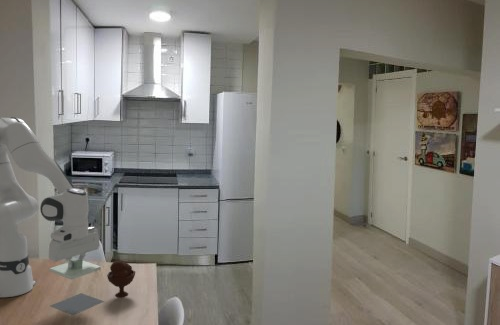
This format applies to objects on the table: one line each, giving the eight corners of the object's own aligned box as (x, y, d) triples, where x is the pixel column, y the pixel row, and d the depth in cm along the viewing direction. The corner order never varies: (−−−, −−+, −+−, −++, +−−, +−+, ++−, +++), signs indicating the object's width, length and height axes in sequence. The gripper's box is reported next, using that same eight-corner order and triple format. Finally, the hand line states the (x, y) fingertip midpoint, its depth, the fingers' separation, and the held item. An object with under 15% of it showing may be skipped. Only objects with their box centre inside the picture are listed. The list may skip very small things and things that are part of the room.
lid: (49, 271, 159) (49, 260, 158) (78, 261, 170) (78, 251, 169) (71, 279, 152) (71, 268, 152) (100, 269, 163) (100, 259, 163)
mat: (49, 306, 160) (49, 305, 160) (81, 294, 172) (81, 293, 172) (73, 316, 153) (73, 315, 152) (104, 302, 165) (104, 301, 164)
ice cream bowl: (127, 302, 165) (127, 266, 163) (102, 299, 167) (101, 263, 165) (140, 291, 175) (140, 257, 173) (115, 289, 177) (115, 255, 176)
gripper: (92, 224, 170) (92, 257, 171) (46, 235, 152) (46, 271, 154) (103, 227, 167) (102, 260, 168) (57, 238, 149) (56, 275, 150)
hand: (75, 265), depth 161 cm, fingers closed on lid, 2 cm apart
